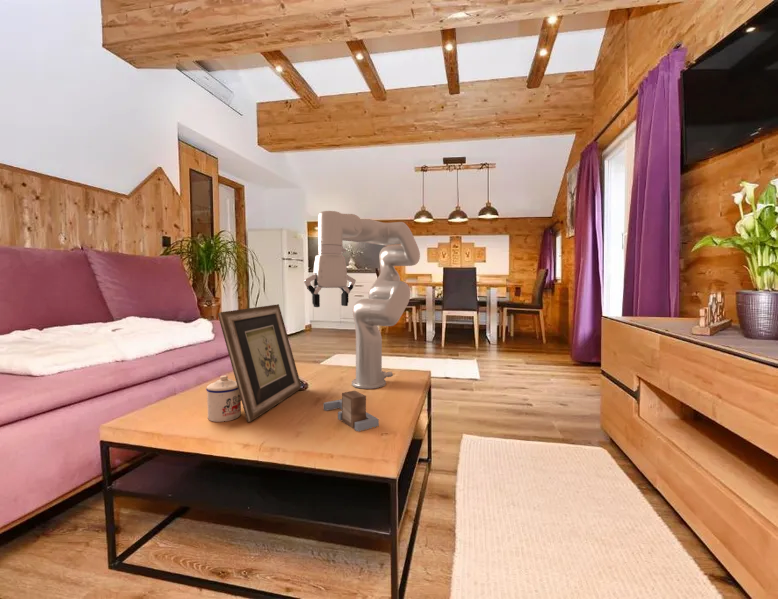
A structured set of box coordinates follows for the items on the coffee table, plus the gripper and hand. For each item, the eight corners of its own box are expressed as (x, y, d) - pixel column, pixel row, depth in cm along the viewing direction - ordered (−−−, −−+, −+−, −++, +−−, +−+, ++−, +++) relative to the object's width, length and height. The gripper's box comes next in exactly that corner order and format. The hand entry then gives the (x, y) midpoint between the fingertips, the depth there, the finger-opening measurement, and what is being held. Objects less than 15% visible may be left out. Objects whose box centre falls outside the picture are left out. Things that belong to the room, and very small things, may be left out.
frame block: (354, 418, 109) (354, 390, 108) (366, 425, 104) (365, 395, 104) (341, 421, 107) (341, 393, 106) (352, 428, 102) (352, 398, 101)
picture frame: (251, 423, 105) (249, 312, 104) (218, 420, 107) (216, 311, 106) (301, 389, 137) (300, 304, 136) (275, 387, 139) (274, 304, 138)
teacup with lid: (225, 424, 104) (224, 381, 104) (199, 420, 107) (198, 378, 107) (255, 410, 116) (254, 371, 115) (230, 406, 119) (230, 369, 118)
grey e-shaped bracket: (342, 405, 120) (342, 399, 120) (378, 426, 103) (378, 418, 103) (323, 409, 116) (323, 402, 116) (357, 431, 100) (357, 424, 99)
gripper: (349, 253, 130) (349, 304, 131) (299, 251, 120) (300, 306, 121) (360, 252, 123) (360, 306, 124) (309, 249, 114) (309, 308, 115)
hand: (330, 306), depth 123 cm, fingers open, 9 cm apart
